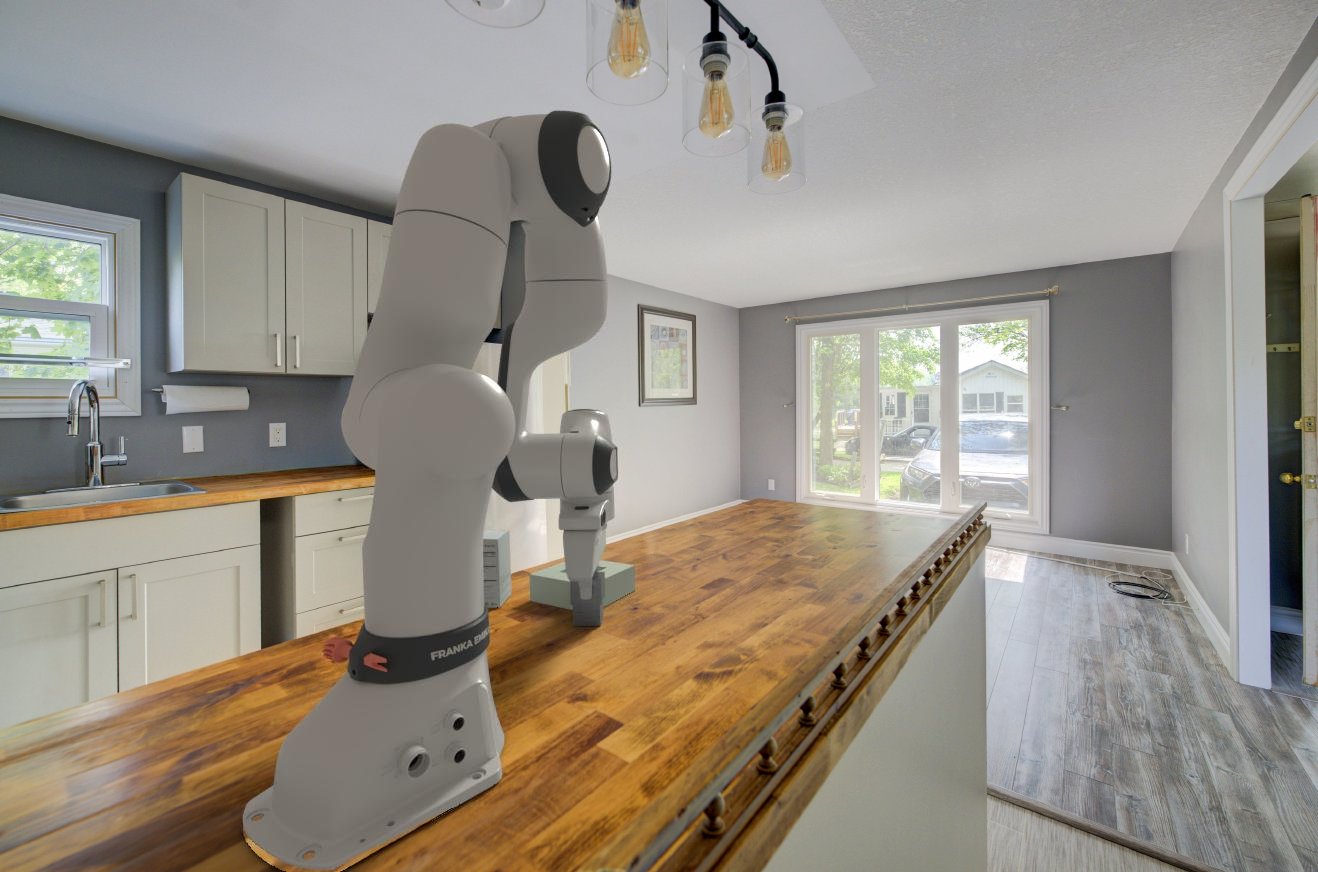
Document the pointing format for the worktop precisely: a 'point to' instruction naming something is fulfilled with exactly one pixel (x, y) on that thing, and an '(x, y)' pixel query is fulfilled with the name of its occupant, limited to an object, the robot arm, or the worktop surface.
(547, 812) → the worktop surface
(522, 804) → the worktop surface
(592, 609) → the knob
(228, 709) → the worktop surface
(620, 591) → the block
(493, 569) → the supplement box
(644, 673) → the worktop surface
